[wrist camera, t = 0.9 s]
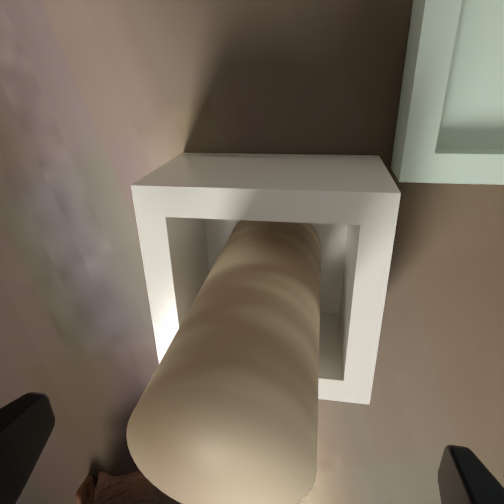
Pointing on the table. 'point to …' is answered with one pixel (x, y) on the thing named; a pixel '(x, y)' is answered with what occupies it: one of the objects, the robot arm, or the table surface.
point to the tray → (452, 94)
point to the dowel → (240, 377)
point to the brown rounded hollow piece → (121, 490)
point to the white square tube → (277, 210)
